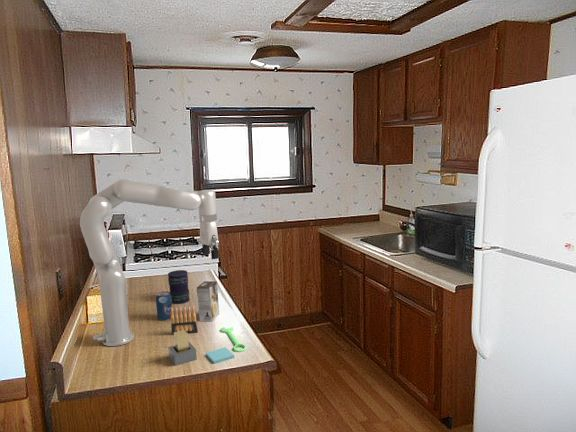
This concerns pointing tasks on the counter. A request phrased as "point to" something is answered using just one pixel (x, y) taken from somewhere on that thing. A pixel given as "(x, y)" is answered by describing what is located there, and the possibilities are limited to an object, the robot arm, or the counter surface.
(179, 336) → the brass peg
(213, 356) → the teal board
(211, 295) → the coffee box
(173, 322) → the ammunition clip
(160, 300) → the soda can
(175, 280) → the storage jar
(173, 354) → the socket block
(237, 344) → the wrench
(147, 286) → the counter surface
